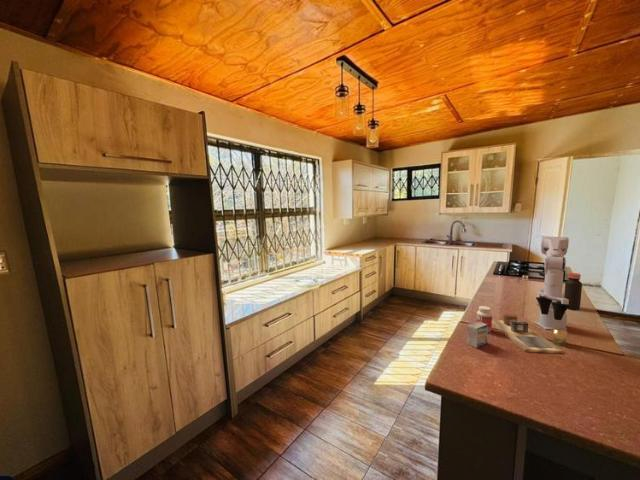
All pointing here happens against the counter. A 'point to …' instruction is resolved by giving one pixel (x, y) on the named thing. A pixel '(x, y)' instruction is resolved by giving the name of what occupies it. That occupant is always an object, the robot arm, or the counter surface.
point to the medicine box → (477, 334)
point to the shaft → (512, 318)
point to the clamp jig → (526, 337)
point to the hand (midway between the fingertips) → (550, 316)
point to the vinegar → (573, 291)
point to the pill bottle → (485, 316)
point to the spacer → (559, 336)
